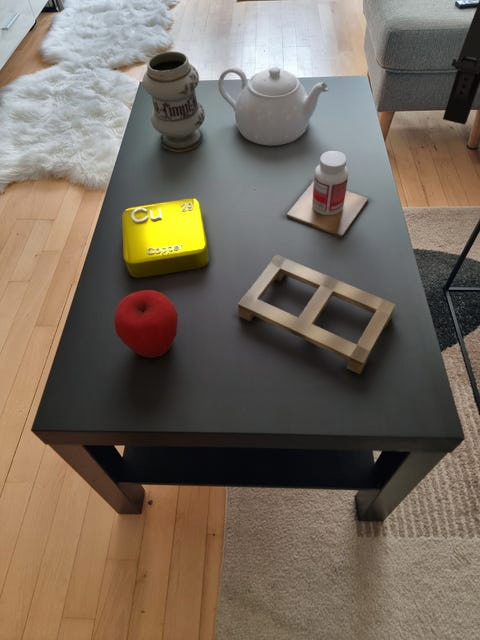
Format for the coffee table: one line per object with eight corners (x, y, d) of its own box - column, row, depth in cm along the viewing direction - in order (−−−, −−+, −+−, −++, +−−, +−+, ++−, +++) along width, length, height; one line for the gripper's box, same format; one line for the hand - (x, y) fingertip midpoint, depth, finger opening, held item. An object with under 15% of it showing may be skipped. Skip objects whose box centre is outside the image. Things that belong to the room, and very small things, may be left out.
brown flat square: (368, 200, 96) (368, 198, 96) (342, 237, 91) (342, 235, 90) (314, 181, 100) (314, 179, 100) (286, 216, 95) (286, 214, 94)
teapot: (289, 97, 119) (291, 39, 108) (325, 136, 109) (331, 76, 98) (220, 117, 116) (214, 60, 105) (251, 159, 106) (248, 100, 95)
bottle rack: (391, 317, 79) (396, 304, 77) (359, 374, 73) (363, 363, 71) (276, 267, 87) (276, 254, 84) (239, 316, 81) (237, 303, 78)
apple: (191, 358, 77) (181, 318, 68) (133, 378, 75) (115, 340, 66) (174, 312, 82) (163, 270, 74) (120, 330, 81) (101, 289, 72)
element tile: (129, 280, 87) (122, 262, 83) (127, 224, 96) (120, 205, 92) (210, 267, 88) (208, 249, 84) (201, 212, 97) (198, 194, 93)
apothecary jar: (152, 129, 115) (135, 51, 100) (202, 120, 116) (192, 41, 101) (159, 159, 108) (141, 80, 93) (211, 149, 109) (202, 69, 94)
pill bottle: (344, 197, 96) (351, 149, 87) (342, 217, 93) (350, 170, 84) (313, 194, 97) (317, 146, 88) (310, 215, 94) (314, 167, 85)
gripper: (533, -157, 52) (470, 47, 69) (463, -90, 40) (408, 136, 58) (610, -154, 50) (524, 57, 67) (560, -82, 38) (472, 153, 55)
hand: (470, 94), depth 62 cm, fingers open, 13 cm apart
